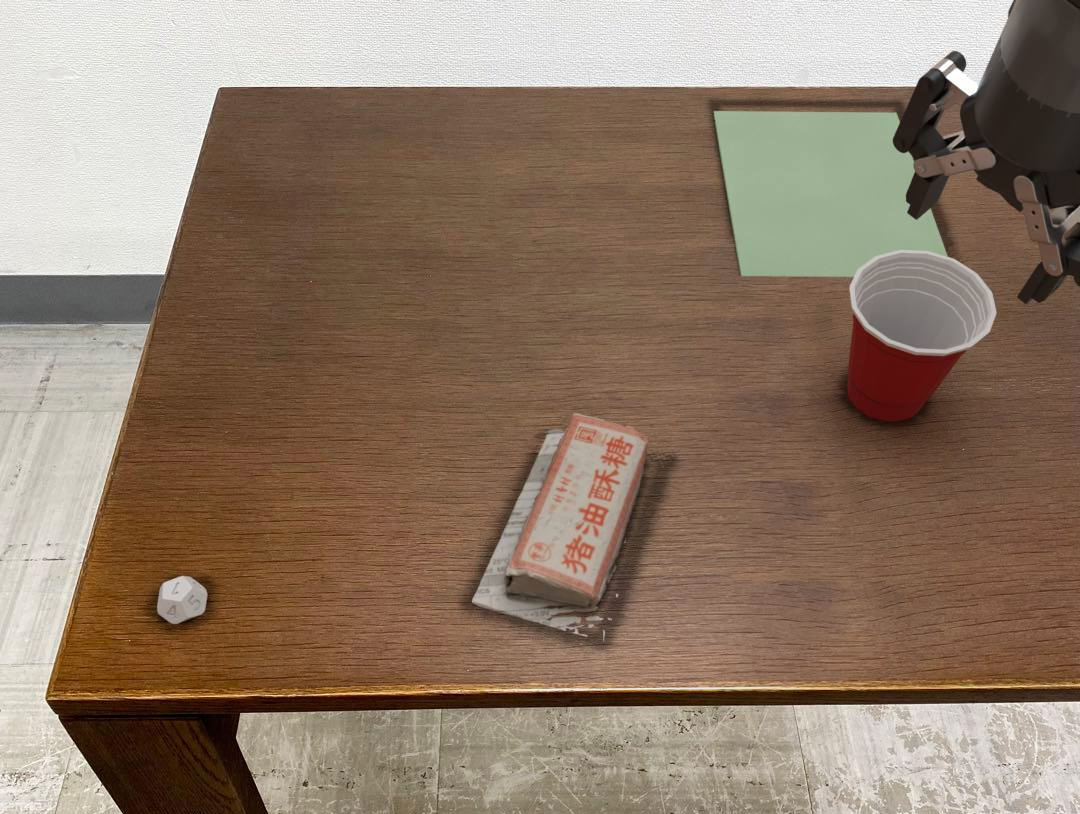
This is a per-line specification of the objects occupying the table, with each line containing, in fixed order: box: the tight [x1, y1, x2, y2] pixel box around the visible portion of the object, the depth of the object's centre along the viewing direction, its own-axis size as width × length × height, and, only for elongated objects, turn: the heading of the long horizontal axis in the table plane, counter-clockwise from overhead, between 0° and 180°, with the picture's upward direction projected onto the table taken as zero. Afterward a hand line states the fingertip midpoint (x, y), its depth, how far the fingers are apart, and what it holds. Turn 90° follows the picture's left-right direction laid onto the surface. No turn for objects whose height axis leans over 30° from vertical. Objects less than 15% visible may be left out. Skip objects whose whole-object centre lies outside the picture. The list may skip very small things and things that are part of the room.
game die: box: [156, 575, 208, 625], centre depth 73 cm, size 4×4×3 cm
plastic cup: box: [846, 250, 998, 423], centre depth 82 cm, size 11×11×12 cm
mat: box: [713, 110, 949, 278], centre depth 103 cm, size 20×32×1 cm, turn 0°
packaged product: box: [471, 412, 649, 642], centre depth 77 cm, size 18×5×10 cm
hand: (975, 249), depth 63 cm, fingers open, 8 cm apart
